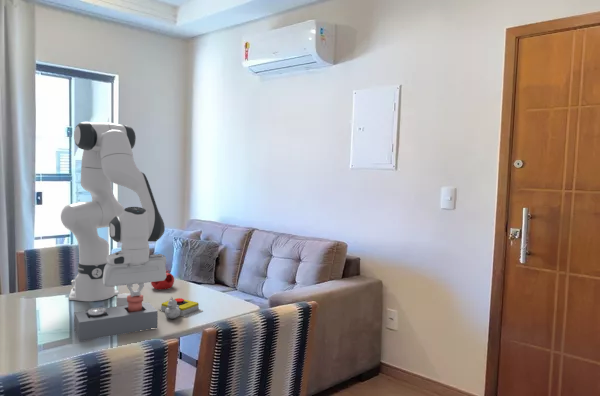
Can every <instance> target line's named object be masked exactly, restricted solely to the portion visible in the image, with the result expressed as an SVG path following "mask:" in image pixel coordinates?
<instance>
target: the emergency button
mask: <svg viewBox="0 0 600 396" xmlns="http://www.w3.org/2000/svg"><path fill="white" fill-rule="evenodd" d="M174 299H175V300H176V301H177V305H179V309H180V315H181V317H184V316H185V317H184V318H188V317H191V316H194V315H196V314H200V313H202V312H204V310H203V309H201V308H199V306H200V305H199V304H200V303H199V302H198V301H197V302H196V301H193V300H189V299H185V298H180V297H177V298H173V300H174ZM168 302H169V300H166V301H165V302H161V307H160V308H161V310H162V311H161V312H164V311H165V310H166V308H168ZM180 315H179V316H180Z"/></svg>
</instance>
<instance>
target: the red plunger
mask: <svg viewBox="0 0 600 396" xmlns="http://www.w3.org/2000/svg"><path fill="white" fill-rule="evenodd" d="M127 302H128V312H137V311H142V303H143V302H144V295H143V294H142V293H140V296H137V297H131V296H130V295H129V296H127Z"/></svg>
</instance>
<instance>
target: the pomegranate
mask: <svg viewBox="0 0 600 396" xmlns="http://www.w3.org/2000/svg"><path fill="white" fill-rule="evenodd" d="M169 272H171V270H166V279H165V280H164V281H156V282H150V284H151V286H152V288H154V289H155V290H157V291H158V290H159V291H162V290H169V289H171V288H172V287H173V286H174V283H175V277H174V275H173V274H172V273H169Z"/></svg>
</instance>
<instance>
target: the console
mask: <svg viewBox="0 0 600 396" xmlns="http://www.w3.org/2000/svg"><path fill="white" fill-rule="evenodd" d="M104 308H105V309H106V314H105V315H104V316H102V317H95V318H90V316H88V310H89V309H88V310H82V311H74V314H73V315H74V316H73V318H74V320H73V321H74V323H73V324H74V326H73V327H74V332H75V335H76V337H77V339H78V341H79V342H84V341H89V340H90V341H91V340H96V339H101V338H102V339H103V338H108V337H115V336H120V335H126V334H125V333H127V334H130V333H129V332H133V333H136V332H135V331H139V332H141V331H140V330H145V331H147V330H146V329H151V328H157V329H158V320H159V319H158V318H159V317H158V310H157V309H156V308H155V306H153V305H152V304H151V303H150V302H142V311H137V312H128V305H125V306H117V305H116V306H110V307H104ZM151 330H152V329H151Z"/></svg>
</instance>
